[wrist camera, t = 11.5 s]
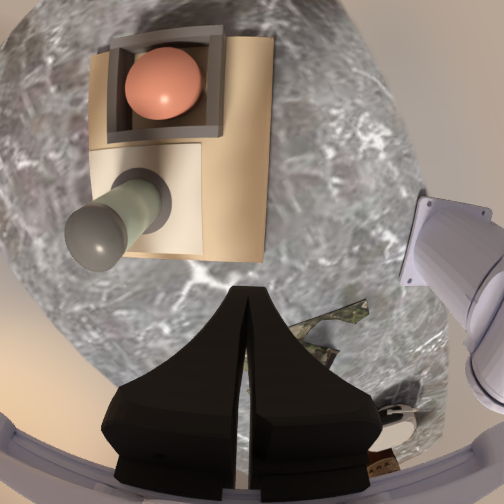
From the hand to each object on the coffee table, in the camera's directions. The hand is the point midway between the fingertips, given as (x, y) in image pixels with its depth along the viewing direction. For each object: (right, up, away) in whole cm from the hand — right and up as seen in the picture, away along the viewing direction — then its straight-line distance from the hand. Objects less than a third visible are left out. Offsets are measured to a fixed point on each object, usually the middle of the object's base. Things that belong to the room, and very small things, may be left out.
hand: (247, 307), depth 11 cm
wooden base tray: (-5, +9, +7) cm, 13 cm away
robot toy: (+16, -22, +23) cm, 36 cm away
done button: (-5, +13, +4) cm, 14 cm away
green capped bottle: (-8, +6, +8) cm, 13 cm away
